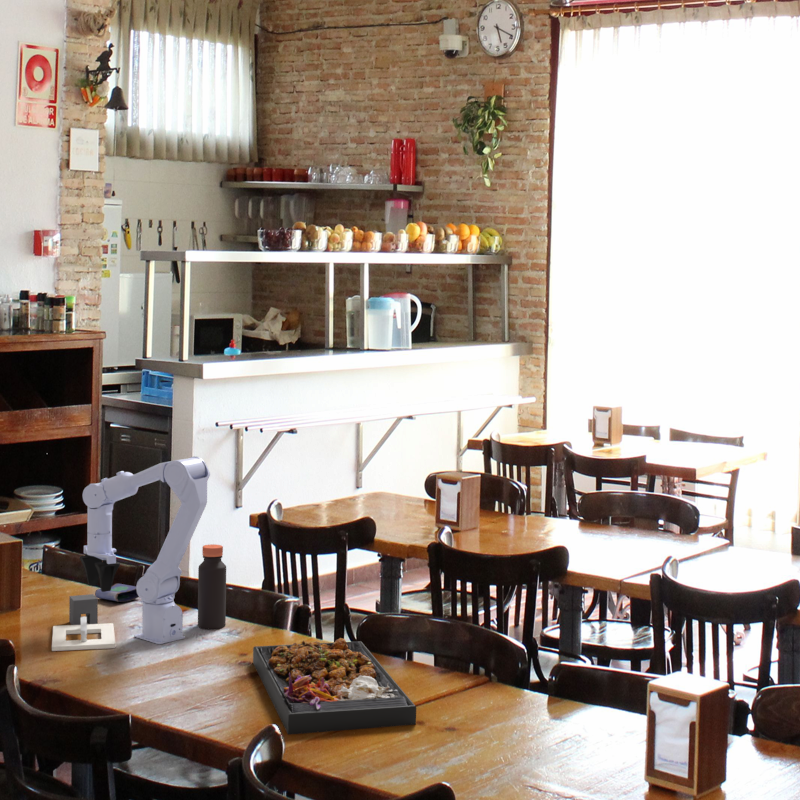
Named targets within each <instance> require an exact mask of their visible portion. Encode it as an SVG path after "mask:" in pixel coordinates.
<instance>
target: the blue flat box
mask: <svg viewBox="0 0 800 800" xmlns="http://www.w3.org/2000/svg"><path fill="white" fill-rule="evenodd" d="M94 595H95V596H96V597H97V599H102V600H107V601H113V602H118V603H119V602H120V603H121V602H130V601H133V600H134V601H135V600H137V599H138V598H140V597H139V596H138V594H137V590H136V586H135V585H129V584H124V583H123V584H122V583H114V584H112V587H111V590H110V591H106V592H102V591H101V588H98V589H96V590H95V592H94Z"/></svg>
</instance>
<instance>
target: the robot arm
mask: <svg viewBox="0 0 800 800" xmlns="http://www.w3.org/2000/svg"><path fill="white" fill-rule="evenodd" d="M206 463H207V462H205V460H204V459H203V458H201V457H199V456H191V457H189V458H182V459H181V458H180V459H174V460H171V461H164V462H160V463H158V464H155V465H152V466H150V467H148V468H145V469H144V470H141V471H139V472H137V473H134V474H133V473H132V472H130V471H124V470H121V471H118V472H116V473H115V474H116V475H115V476H112V477H109V478H108V477H105V478H102V479H101V480H100V482H97V483H89V484H88V485H87V486H86V487H84V489H83V491H82V501H83V503H84V504H85V506H87V520H86V521H87V529H86V530H87V537H86V538H87V542H86V543H87V544H86V545H83V554H85V555H81V556H79V560H80V562H81V564H82V566H83V568H84V572H85V576H86V581H87V584H88V585H89V586H96V585H98V583H99V586H100V588H99V589H101V591H102V592H106V591H110V590H111V587H112V586H113V583H114V579H115V575H116V573H117V571H118V569H119V568H120V567H121V566H120V564H121V563H120V562H119V561H117V555H116V554H115V553H117V549H116V548H115V547H113V510H114V505H115V503H116V502H118V501H121V500H123V499H126V498H129V497H131V496H134V495H136V494H137V493H138V490H139V487H142V486H146V485H149V484H151V483H155V482H157V481H158V482H159V481H160V482H161V483H166V484H167V485H168V486H169V487H170V489H171V491H172V492H173V493H174V494H175V496H176V497H177V498H178V500H179V501H180V506H179V507H178V510H177V513H176V514H175V516H174V519H173V522H172V523H171V524H172V525H170V528H169V531H168V532H167V536H166V537H165V540H164V542H163V545H162V547H161V549H160V551H159V553H158V555H157V558H156V560H155V561H154V562H152V564H151V565H150V566H149V567H148V568H147V569H146V571H145V573H144V575H142V577H139V579H138V580H137V582H136V586H135V587H136V590H137V594H138V596H139V597H138V598H139V600H140V601H141V603H142V608H141V609H142V611H141V612H142V615H141V616H142V617H141V618H142V623H141V626H142V627H141V631H142V632H140V633H136V634H134V638H137V639H141V640H143V641H147V642H150V643H152V644H156V645H162V644H167V643H171V642H175V641H179V640H183V639H185V638H186V636H185V635H183V627H184V626H183V625H184V624H183V620H184V619H183V618H184V617H183V616H184V615H183V614H184V613H183V610H182V608H181V607H180V606H179V605H177V604H176V603H175V601H174V599H175V598H176V597H175V595H176V593H177V592H178V590H179V589H180V586H181V585H180V583H181V581H180V578H181V575H182V573H183V571H182V569H181V568H180V564H181V562H182V561H183V559H184V558H183V557H184V556H185V553H186V551H187V549H188V547H189V544H190V542H191V540H192V538H193V536H194V533H195V531H196V530H197V526H198V524H199V522H200V520H201V518H202V515H203V513H204V511H205V509H206V506H207V505H208V504H207V503H208V480H209V479H210V477H211V472H210V471H209V468H208V465H207V464H206Z"/></svg>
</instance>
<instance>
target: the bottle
mask: <svg viewBox="0 0 800 800" xmlns="http://www.w3.org/2000/svg"><path fill="white" fill-rule="evenodd" d="M223 551H224V546H223V545H222V544H216V543H215V544H214V543H213V544H205V545H204V544H203V546H202V558H203V561H202V562H201V563H200V564H199V565H198V572H197V573H198V574H197V576H198V577H197V578H198V581H197V583H198V584H197V585H198V586H197V627H198V628H199V629H202V630H207V631H208V630H211V631H213V630H220V629H223V628H225V627H226V617H227V614H226V612H227V611H226V610H227V609H226V608H227V603H226V602H227V565H226V564H225V563H224V562H223V561H222V558H223V555H224V553H223Z"/></svg>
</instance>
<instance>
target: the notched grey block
mask: <svg viewBox="0 0 800 800" xmlns="http://www.w3.org/2000/svg"><path fill="white" fill-rule="evenodd" d="M98 599H99V598H97V597H96V596H95V593H92V594H91V593H89V594H81V595H79V594H77V595H69V599H68V600H69V601H68V602H69V605H68V606H69V609H68V610H69V612H68V613H69V618H68V619H69V620H68V621H69V623H70V625H81V617H82V615H85V617H87V624H99V623H98V615H99V614H98V611H99V609H98V608H99V606H98V605H99V604H98V601H99V600H98Z"/></svg>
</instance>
